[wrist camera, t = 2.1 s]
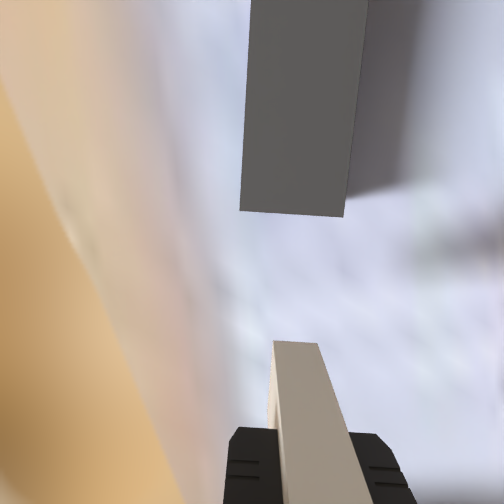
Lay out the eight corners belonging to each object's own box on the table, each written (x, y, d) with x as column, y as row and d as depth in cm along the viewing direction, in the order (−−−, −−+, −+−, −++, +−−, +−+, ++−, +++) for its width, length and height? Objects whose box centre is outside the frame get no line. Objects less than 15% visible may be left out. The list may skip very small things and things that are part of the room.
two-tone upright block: (319, 205, 21) (343, 217, 16) (243, 200, 21) (239, 210, 16) (352, -117, 18) (398, -256, 12) (262, -123, 18) (265, -266, 12)
